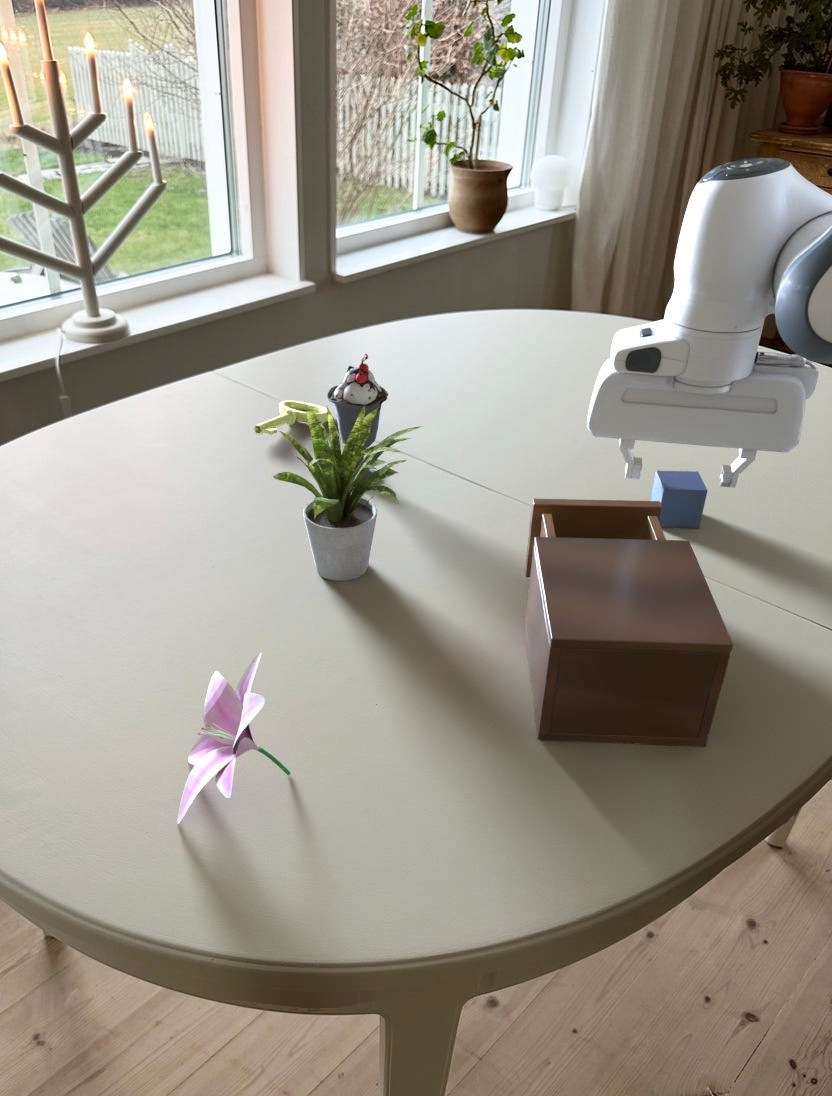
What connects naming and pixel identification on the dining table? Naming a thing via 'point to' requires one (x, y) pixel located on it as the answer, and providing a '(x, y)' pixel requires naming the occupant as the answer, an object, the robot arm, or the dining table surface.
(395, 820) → the dining table surface
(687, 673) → the cabinet
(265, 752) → the lily
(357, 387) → the sundae
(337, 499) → the house plant
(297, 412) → the key
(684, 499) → the block
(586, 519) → the drawer
